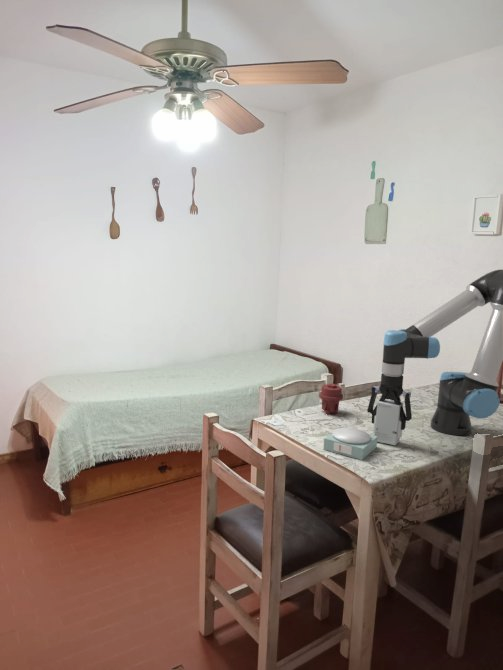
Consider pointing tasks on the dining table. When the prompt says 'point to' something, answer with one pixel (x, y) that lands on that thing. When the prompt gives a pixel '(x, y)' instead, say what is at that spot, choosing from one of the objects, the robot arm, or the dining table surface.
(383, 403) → the skincare box
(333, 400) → the mechanical component
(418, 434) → the dining table surface
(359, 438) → the kitchen scale
